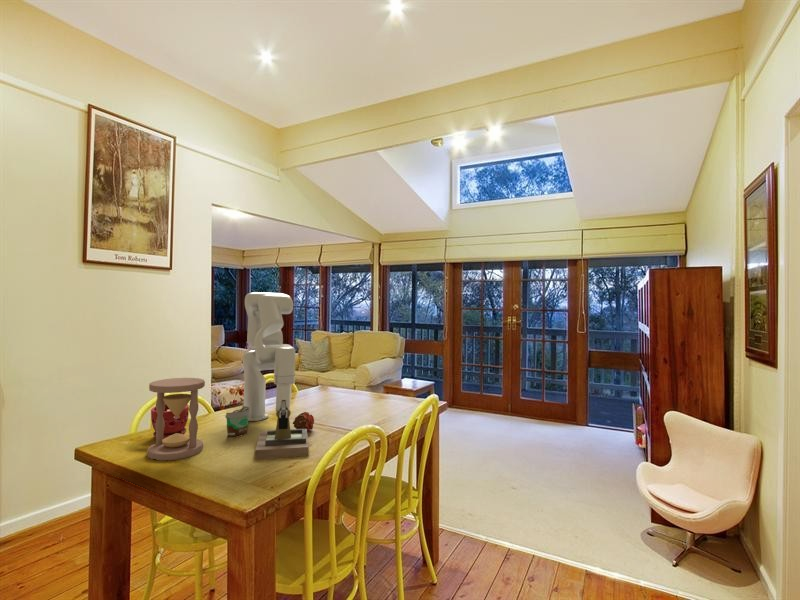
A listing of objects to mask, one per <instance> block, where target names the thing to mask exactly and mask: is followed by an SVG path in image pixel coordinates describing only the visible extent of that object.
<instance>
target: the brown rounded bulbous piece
mask: <svg viewBox="0 0 800 600" xmlns="http://www.w3.org/2000/svg"><path fill="white" fill-rule="evenodd" d="M281 410H282V409H281ZM275 415H276V418H277V420H276V427H275V430H276V432H275V439H289V438H291V431H290V429H291V425H290V424H291V423H290V416H291V410H290V409H289V411H287V418H288V428H287V429H279V416H280V410H279V411H278V412H276V411H275Z"/></svg>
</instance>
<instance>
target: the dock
mask: <svg viewBox="0 0 800 600" xmlns="http://www.w3.org/2000/svg"><path fill="white" fill-rule="evenodd" d="M290 431H291V438H289V439H275V432H276V429H273V430H263V431H262V430H260V431H259V435H258V438H257V442H256V446H255V451H254V460H259V459H262V460H264V459H275V458H276V459H277V458H290V457H291V456H293V457H305V456H304V455H307V456H309V453H310V452H309V451H310V450H309V440H308V439H309V437H308V430H307V429H296V428H294V429H293V428H292V429H291V428H290ZM291 458H292V457H291Z"/></svg>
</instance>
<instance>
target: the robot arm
mask: <svg viewBox="0 0 800 600" xmlns="http://www.w3.org/2000/svg"><path fill="white" fill-rule="evenodd" d="M244 308H245V312H246V316H247V335H246V337H247V338H246V339H247V341H246V343H247V345H248V347H250V348H253V350H252V349H251V350H248V351H246V352H245V353H244V354H243V355H242V364H243V365H242V366H243V374H244V375H243V377H244V378H243V406H247V407H249V409H250V412H251V413H250V414H249V418H248V422H259V421H264V420H265V419H268V418H269V414H268V412H266V384H267V383H266V382H267V381H266V378H265V376H264V375H263V374H262V373H261V371H269V370H270V371H272V370H274V371H273V374H274V375H273V384H274V385H276V393H275V413H276V412H278V411H279V410H280V416H279V429H287V428H288V418H287V411H289V410H290V409H291V408H290V407H291V402H292V401H291V399H292V385H294V384H295V383H296V380H295V379H296V376H295V375H296V349H295V347H293V346H292V345H291V344H287V343H284V338H283V337H284V336H283V331H282V328H283V327H284V324H285V323H284V319H283V315H290V314H292V312H293V310H294V302H293V299H292V297H291V296H290V295H288V294H286V293H282V292H264V291H263V292H262V291H261V292H260V291H259V292H258V291H254V292H249V293H247V294H246V295H245V296H244ZM281 409H282V410H281Z"/></svg>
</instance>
